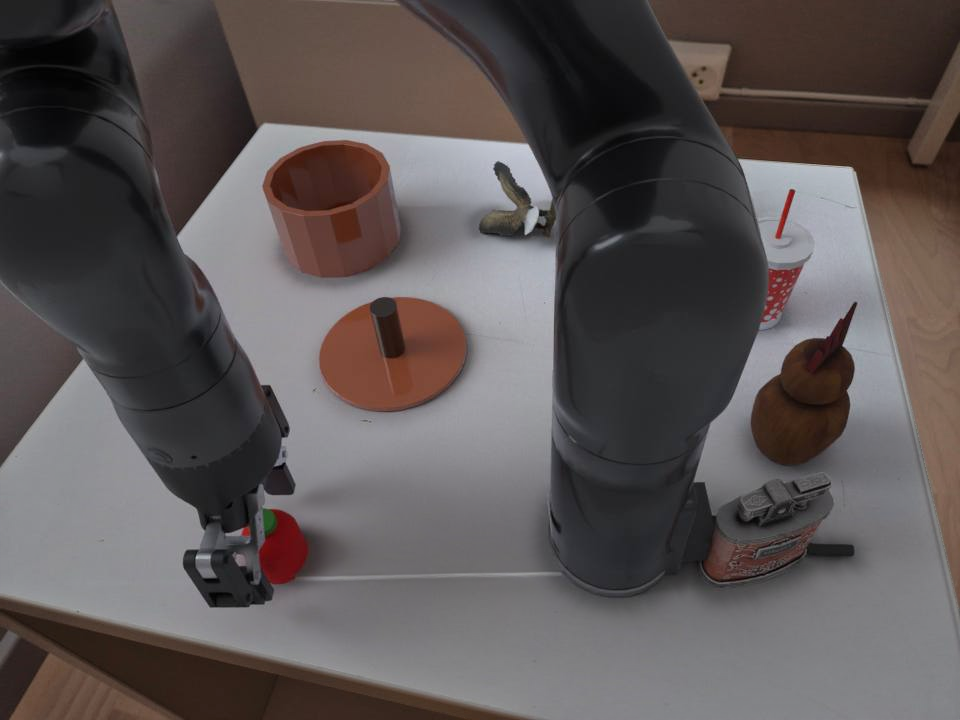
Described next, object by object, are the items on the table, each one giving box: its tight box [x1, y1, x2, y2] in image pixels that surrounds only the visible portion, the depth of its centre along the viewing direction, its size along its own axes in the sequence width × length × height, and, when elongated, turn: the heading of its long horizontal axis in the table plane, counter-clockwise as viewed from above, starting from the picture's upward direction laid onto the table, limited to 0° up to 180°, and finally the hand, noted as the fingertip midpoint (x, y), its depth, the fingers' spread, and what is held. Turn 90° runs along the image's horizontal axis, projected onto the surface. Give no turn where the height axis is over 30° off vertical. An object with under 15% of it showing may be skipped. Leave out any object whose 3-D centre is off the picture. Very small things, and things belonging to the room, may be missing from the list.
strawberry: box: [240, 508, 309, 585], centre depth 55 cm, size 4×4×6 cm
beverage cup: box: [757, 188, 816, 331], centre depth 66 cm, size 6×6×14 cm
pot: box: [261, 139, 402, 279], centre depth 78 cm, size 13×13×8 cm
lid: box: [318, 296, 467, 412], centre depth 67 cm, size 14×14×7 cm
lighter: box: [697, 471, 835, 590], centre depth 51 cm, size 8×3×10 cm, turn 106°
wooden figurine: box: [749, 301, 858, 466], centre depth 55 cm, size 7×6×15 cm
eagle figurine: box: [478, 160, 556, 239], centre depth 79 cm, size 8×7×9 cm
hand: (271, 541), depth 56 cm, fingers open, 8 cm apart
